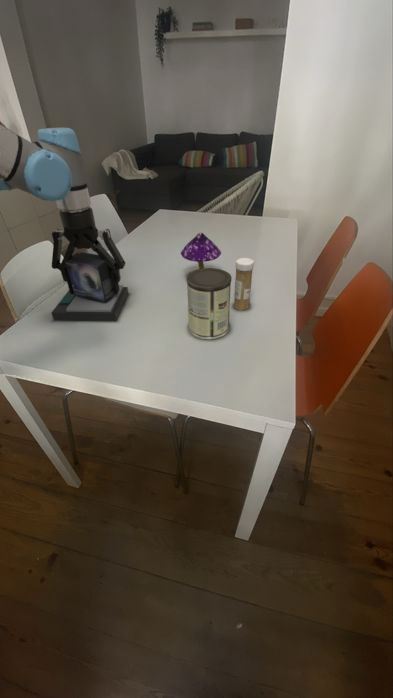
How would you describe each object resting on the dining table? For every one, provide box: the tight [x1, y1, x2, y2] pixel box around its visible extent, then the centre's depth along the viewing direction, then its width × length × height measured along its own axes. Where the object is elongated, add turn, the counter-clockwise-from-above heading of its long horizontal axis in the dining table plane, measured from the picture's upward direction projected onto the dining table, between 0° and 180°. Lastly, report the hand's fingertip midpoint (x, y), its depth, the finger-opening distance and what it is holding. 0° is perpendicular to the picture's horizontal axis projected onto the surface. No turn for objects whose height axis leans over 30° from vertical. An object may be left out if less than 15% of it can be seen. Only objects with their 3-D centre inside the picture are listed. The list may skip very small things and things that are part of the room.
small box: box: [65, 251, 115, 302], centre depth 85 cm, size 11×6×10 cm, turn 68°
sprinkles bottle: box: [233, 257, 255, 311], centre depth 85 cm, size 5×5×14 cm
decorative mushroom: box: [180, 232, 222, 269], centre depth 98 cm, size 12×12×15 cm
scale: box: [50, 284, 130, 322], centre depth 89 cm, size 17×15×3 cm
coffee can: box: [185, 267, 232, 340], centre depth 77 cm, size 10×10×14 cm
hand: (95, 292), depth 88 cm, fingers closed on small box, 11 cm apart
